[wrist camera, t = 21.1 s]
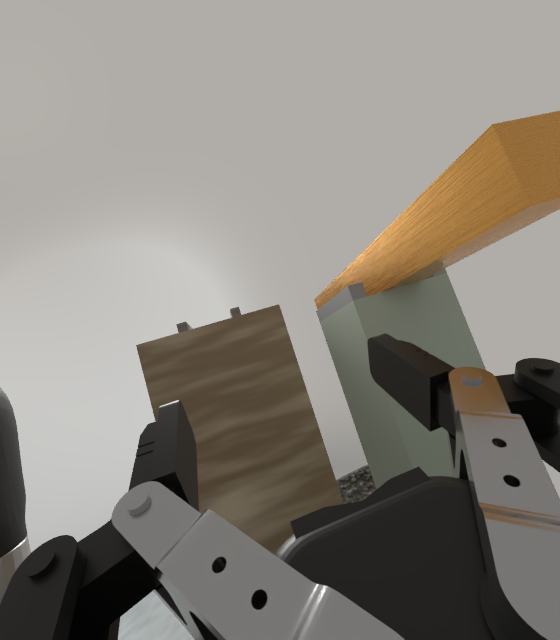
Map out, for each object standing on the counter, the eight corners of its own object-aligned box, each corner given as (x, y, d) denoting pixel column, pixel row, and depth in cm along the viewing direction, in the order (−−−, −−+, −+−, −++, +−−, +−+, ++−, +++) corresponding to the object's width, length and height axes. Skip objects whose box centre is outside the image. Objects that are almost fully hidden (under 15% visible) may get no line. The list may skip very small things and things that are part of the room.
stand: (374, 598, 31) (276, 296, 35) (220, 675, 28) (133, 336, 32) (332, 530, 45) (265, 318, 49) (226, 577, 42) (164, 347, 46)
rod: (601, 187, 10) (563, 109, 11) (529, 206, 10) (492, 124, 10) (348, 317, 34) (339, 292, 34) (323, 325, 33) (314, 299, 33)
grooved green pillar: (634, 738, 17) (441, 258, 21) (534, 809, 16) (347, 285, 19) (509, 623, 25) (385, 290, 28) (436, 665, 23) (316, 311, 27)
